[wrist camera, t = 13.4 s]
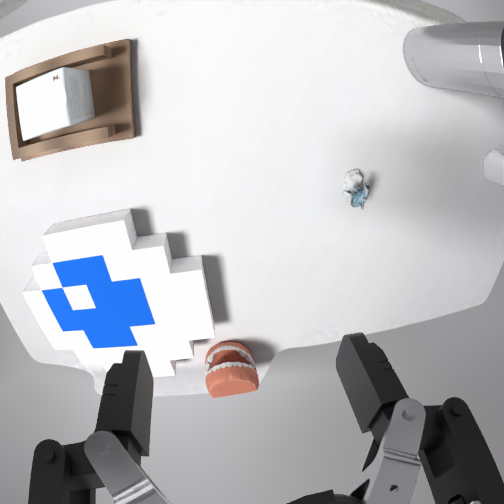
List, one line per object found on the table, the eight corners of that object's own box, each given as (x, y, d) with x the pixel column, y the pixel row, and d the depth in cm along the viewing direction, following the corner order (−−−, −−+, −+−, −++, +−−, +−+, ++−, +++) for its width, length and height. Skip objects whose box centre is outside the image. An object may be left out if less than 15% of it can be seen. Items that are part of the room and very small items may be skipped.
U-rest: (130, 40, 26) (121, 33, 22) (135, 136, 31) (126, 142, 28) (18, 73, 24) (0, 73, 20) (26, 159, 29) (9, 167, 26)
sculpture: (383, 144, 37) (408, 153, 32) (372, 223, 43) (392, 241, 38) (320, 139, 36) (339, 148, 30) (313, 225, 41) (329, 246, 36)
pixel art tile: (74, 379, 45) (1, 245, 31) (79, 363, 48) (14, 232, 34) (222, 370, 47) (191, 209, 33) (220, 352, 51) (192, 197, 37)
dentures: (249, 333, 49) (257, 370, 42) (254, 360, 52) (262, 395, 46) (196, 342, 48) (198, 380, 41) (206, 368, 52) (209, 404, 45)
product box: (46, 84, 25) (14, 85, 18) (90, 69, 25) (64, 65, 19) (52, 131, 28) (22, 142, 21) (96, 118, 28) (71, 125, 22)
